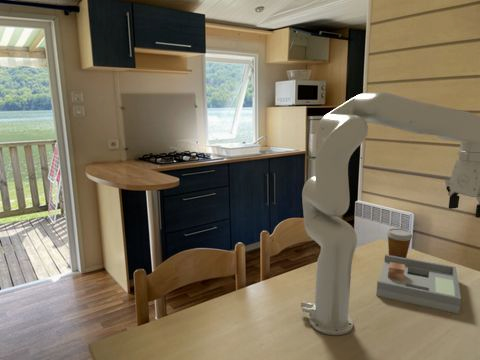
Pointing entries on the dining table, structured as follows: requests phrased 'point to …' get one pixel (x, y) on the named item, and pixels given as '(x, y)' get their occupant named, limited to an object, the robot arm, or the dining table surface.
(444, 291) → the box
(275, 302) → the dining table surface
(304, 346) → the dining table surface
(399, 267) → the block
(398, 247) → the disposable coffee cup
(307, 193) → the robot arm
